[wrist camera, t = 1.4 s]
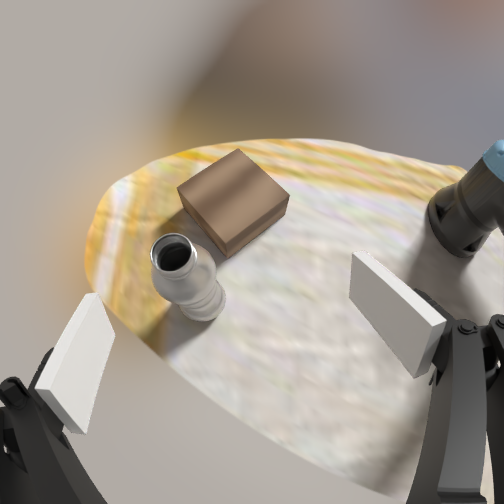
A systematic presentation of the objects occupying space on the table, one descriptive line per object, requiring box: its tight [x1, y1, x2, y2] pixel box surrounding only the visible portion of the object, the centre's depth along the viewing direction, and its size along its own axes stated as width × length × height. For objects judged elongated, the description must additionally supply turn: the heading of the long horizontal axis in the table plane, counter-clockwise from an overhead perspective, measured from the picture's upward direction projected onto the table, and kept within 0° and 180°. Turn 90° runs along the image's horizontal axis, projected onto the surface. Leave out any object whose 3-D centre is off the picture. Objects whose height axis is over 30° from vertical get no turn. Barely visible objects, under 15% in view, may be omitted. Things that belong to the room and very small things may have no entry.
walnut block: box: [177, 149, 290, 258], centre depth 44 cm, size 12×12×6 cm
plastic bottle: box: [150, 233, 226, 322], centre depth 32 cm, size 6×7×20 cm
